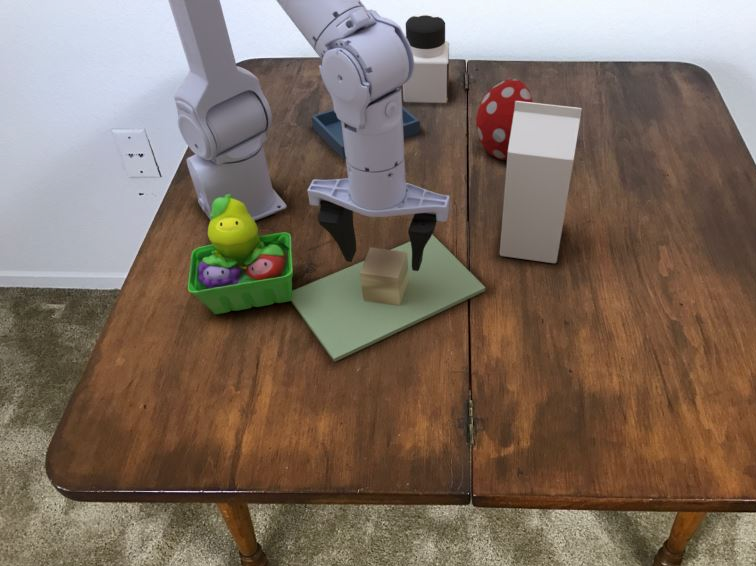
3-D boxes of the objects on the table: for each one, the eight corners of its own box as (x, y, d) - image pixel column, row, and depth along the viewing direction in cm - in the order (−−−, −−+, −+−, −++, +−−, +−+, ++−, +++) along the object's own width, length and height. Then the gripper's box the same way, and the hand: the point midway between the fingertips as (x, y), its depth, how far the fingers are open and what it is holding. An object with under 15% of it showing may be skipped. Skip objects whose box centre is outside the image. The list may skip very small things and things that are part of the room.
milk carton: (556, 264, 83) (579, 126, 69) (499, 256, 84) (510, 118, 70) (561, 228, 88) (584, 92, 74) (507, 221, 89) (519, 85, 75)
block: (363, 300, 78) (359, 272, 75) (373, 275, 81) (370, 247, 78) (400, 306, 78) (398, 278, 74) (408, 280, 81) (407, 252, 77)
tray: (343, 161, 98) (342, 146, 96) (313, 130, 103) (311, 115, 102) (420, 134, 103) (419, 120, 101) (387, 106, 108) (386, 92, 106)
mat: (334, 362, 73) (333, 358, 72) (287, 296, 79) (286, 292, 79) (485, 291, 80) (485, 287, 80) (430, 236, 87) (430, 232, 86)
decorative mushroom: (587, 78, 97) (498, 56, 90) (595, 150, 95) (505, 134, 88) (542, 115, 107) (458, 98, 100) (549, 181, 105) (464, 168, 98)
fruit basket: (202, 325, 76) (164, 249, 68) (206, 272, 82) (172, 197, 74) (303, 307, 77) (278, 230, 69) (300, 257, 83) (277, 180, 75)
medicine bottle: (447, 104, 109) (448, 29, 100) (403, 104, 109) (400, 28, 100) (448, 82, 113) (449, 9, 104) (406, 82, 113) (403, 8, 105)
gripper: (455, 141, 68) (454, 245, 78) (316, 125, 69) (332, 229, 79) (442, 182, 63) (442, 287, 73) (293, 164, 65) (313, 270, 75)
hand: (384, 260), depth 76 cm, fingers open, 7 cm apart
